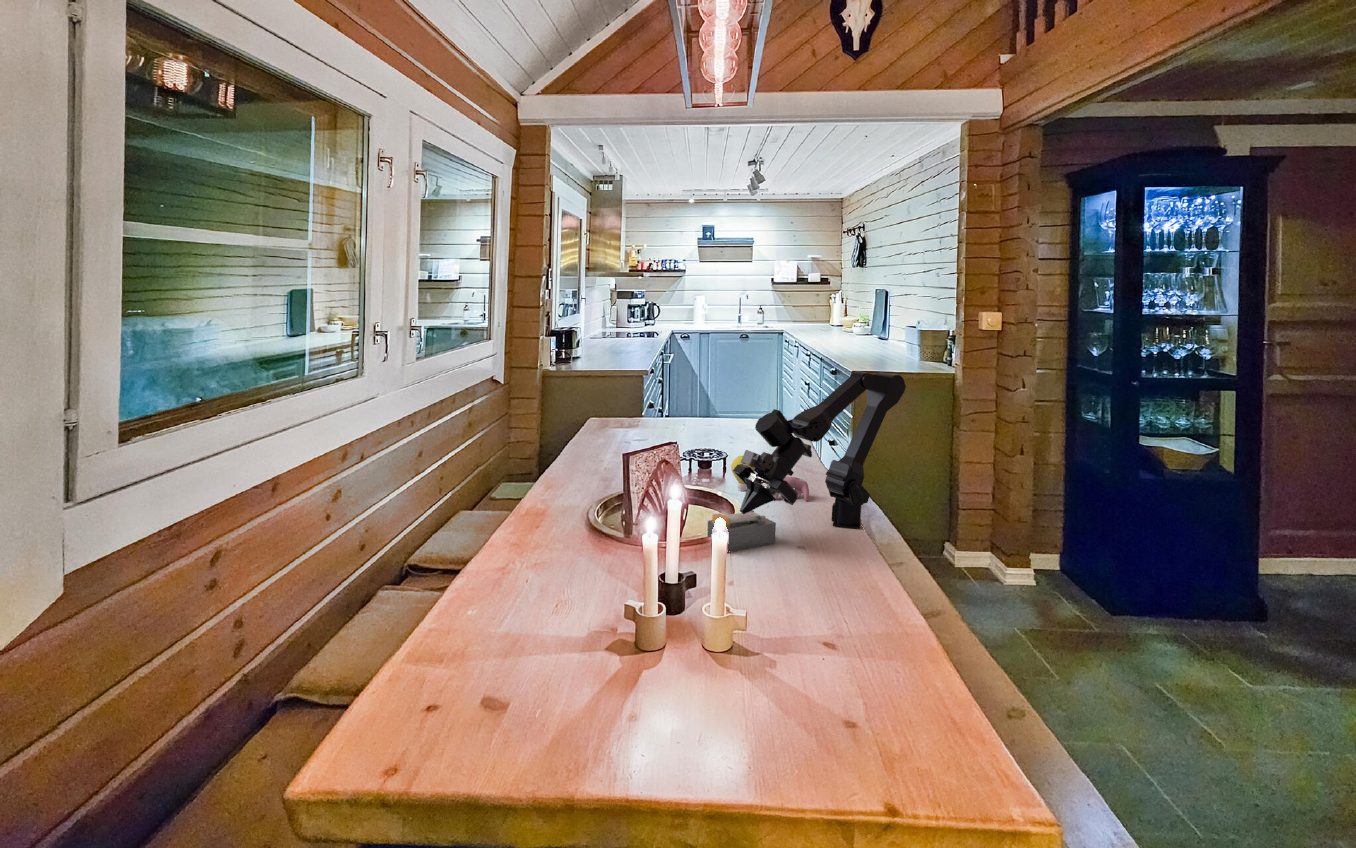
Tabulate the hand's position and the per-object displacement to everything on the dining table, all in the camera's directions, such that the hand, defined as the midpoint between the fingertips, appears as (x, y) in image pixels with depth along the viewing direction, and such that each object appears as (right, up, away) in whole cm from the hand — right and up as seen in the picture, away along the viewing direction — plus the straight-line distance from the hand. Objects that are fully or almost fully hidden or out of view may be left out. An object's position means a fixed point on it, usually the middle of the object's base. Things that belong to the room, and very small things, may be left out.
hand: (741, 512), depth 166 cm
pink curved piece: (+17, -1, +38) cm, 41 cm away
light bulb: (+4, +1, +45) cm, 45 cm away
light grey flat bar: (0, -2, 0) cm, 2 cm away
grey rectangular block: (0, -7, +1) cm, 7 cm away
